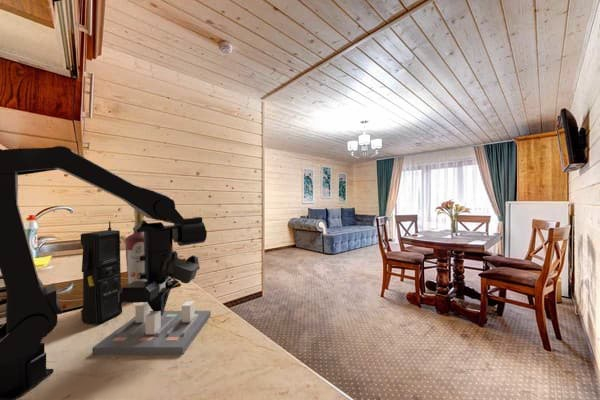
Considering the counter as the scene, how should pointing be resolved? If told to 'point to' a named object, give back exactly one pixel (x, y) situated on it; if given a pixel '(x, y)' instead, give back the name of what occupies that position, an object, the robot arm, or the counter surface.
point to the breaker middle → (153, 322)
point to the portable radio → (101, 276)
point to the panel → (153, 336)
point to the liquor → (135, 252)
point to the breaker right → (188, 311)
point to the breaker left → (141, 312)
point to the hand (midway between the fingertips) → (159, 316)
